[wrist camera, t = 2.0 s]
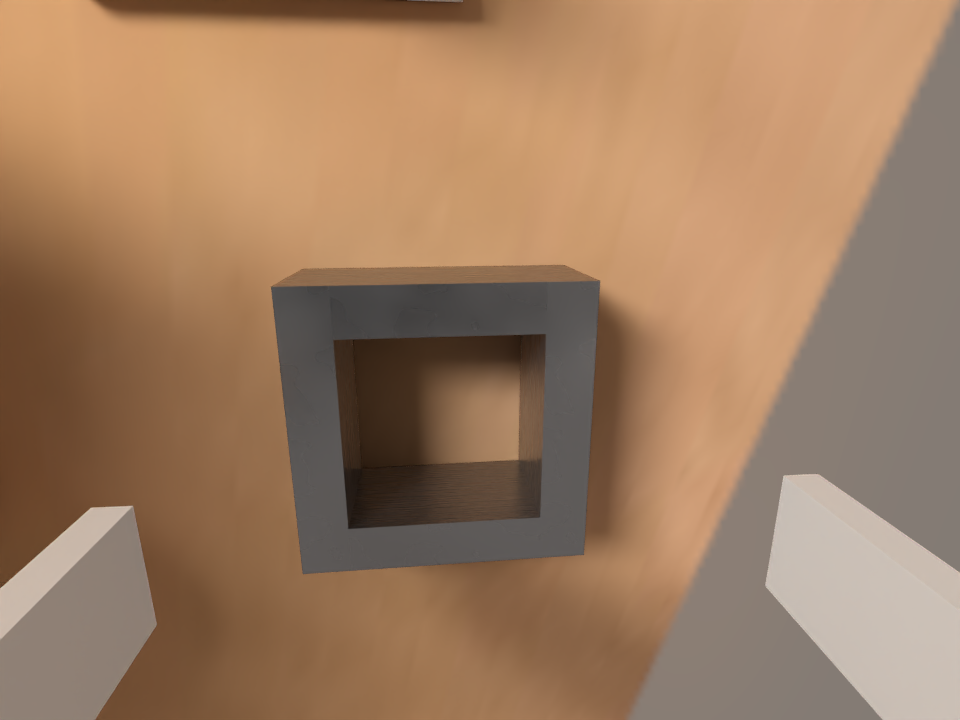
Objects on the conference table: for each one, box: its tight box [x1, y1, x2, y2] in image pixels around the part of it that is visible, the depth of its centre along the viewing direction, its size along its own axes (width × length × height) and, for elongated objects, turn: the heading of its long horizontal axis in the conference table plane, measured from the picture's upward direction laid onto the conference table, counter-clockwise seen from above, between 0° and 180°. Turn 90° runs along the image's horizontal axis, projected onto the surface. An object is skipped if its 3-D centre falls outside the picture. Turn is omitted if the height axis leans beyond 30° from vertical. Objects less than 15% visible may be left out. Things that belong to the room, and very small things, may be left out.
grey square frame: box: [271, 265, 600, 574], centre depth 18 cm, size 9×9×4 cm
